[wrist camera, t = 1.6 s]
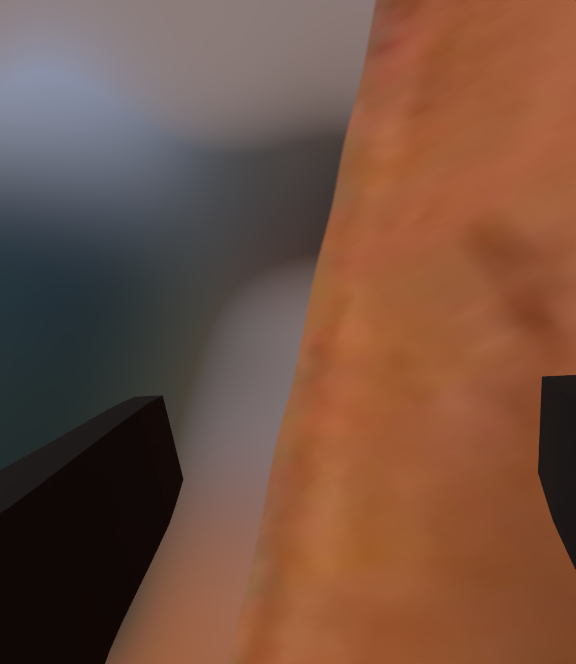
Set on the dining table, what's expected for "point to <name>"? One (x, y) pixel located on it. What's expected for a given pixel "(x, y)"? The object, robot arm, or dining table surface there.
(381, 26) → the dining table surface
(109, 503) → the robot arm
